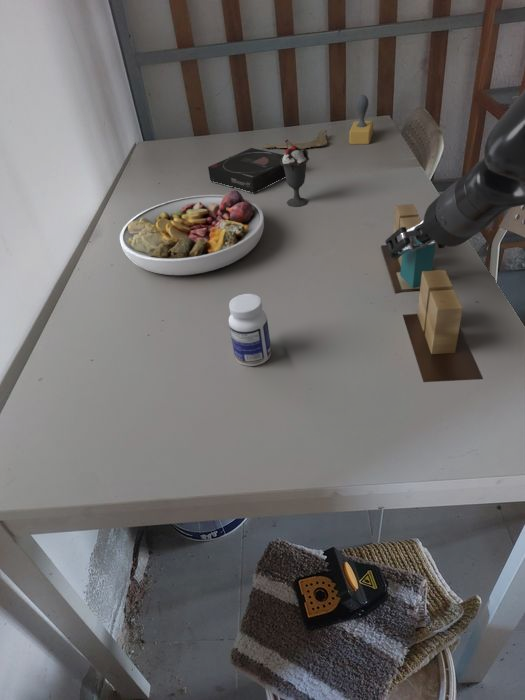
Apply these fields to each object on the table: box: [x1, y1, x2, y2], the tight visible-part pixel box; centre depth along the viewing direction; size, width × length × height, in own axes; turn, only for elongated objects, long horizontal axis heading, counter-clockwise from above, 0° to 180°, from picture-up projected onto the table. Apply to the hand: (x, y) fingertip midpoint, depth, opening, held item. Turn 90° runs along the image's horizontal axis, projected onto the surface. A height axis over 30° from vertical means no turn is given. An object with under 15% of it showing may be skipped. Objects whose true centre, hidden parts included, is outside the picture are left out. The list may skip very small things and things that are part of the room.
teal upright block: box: [400, 237, 436, 288], centre depth 88 cm, size 3×5×8 cm
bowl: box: [119, 189, 265, 276], centre depth 108 cm, size 30×30×8 cm
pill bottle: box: [228, 293, 272, 367], centre depth 77 cm, size 6×6×10 cm
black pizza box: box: [207, 147, 286, 194], centre depth 137 cm, size 16×17×4 cm
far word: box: [380, 203, 435, 295], centre depth 92 cm, size 8×17×9 cm, turn 178°
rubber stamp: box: [349, 94, 374, 145], centre depth 150 cm, size 10×6×12 cm, turn 165°
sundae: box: [280, 139, 310, 208], centre depth 118 cm, size 7×7×15 cm
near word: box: [402, 269, 484, 383], centre depth 75 cm, size 8×16×9 cm, turn 178°
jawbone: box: [262, 129, 329, 150], centre depth 153 cm, size 9×20×2 cm, turn 105°
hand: (415, 248), depth 88 cm, fingers open, 8 cm apart
